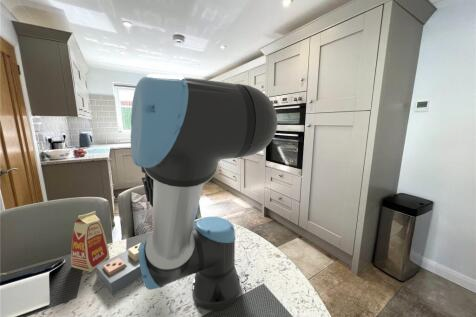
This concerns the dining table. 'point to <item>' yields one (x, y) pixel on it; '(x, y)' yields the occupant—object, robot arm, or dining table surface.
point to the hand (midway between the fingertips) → (156, 220)
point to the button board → (119, 274)
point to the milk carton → (88, 243)
